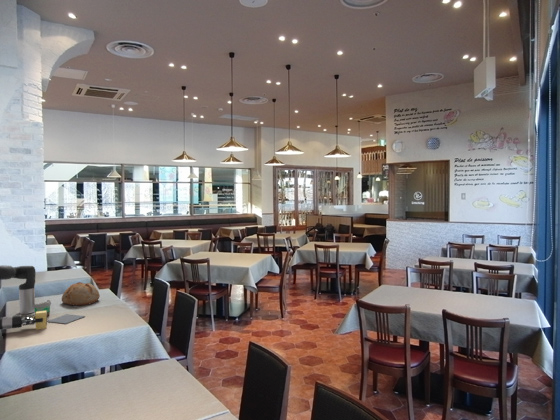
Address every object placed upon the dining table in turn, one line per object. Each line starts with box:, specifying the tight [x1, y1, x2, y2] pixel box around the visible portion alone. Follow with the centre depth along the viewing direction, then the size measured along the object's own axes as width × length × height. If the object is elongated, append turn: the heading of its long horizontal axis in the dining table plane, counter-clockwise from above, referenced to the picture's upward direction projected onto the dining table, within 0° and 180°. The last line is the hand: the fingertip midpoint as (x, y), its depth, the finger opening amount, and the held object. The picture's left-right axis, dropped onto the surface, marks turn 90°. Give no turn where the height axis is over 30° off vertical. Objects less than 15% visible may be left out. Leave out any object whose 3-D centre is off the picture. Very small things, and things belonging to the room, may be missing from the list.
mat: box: [47, 313, 86, 325], centre depth 256 cm, size 16×16×1 cm
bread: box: [61, 281, 101, 306], centre depth 300 cm, size 26×23×15 cm
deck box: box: [34, 310, 48, 330], centre depth 240 cm, size 5×6×10 cm
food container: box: [34, 299, 52, 318], centre depth 262 cm, size 12×6×10 cm, turn 168°
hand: (43, 318), depth 240 cm, fingers open, 8 cm apart
